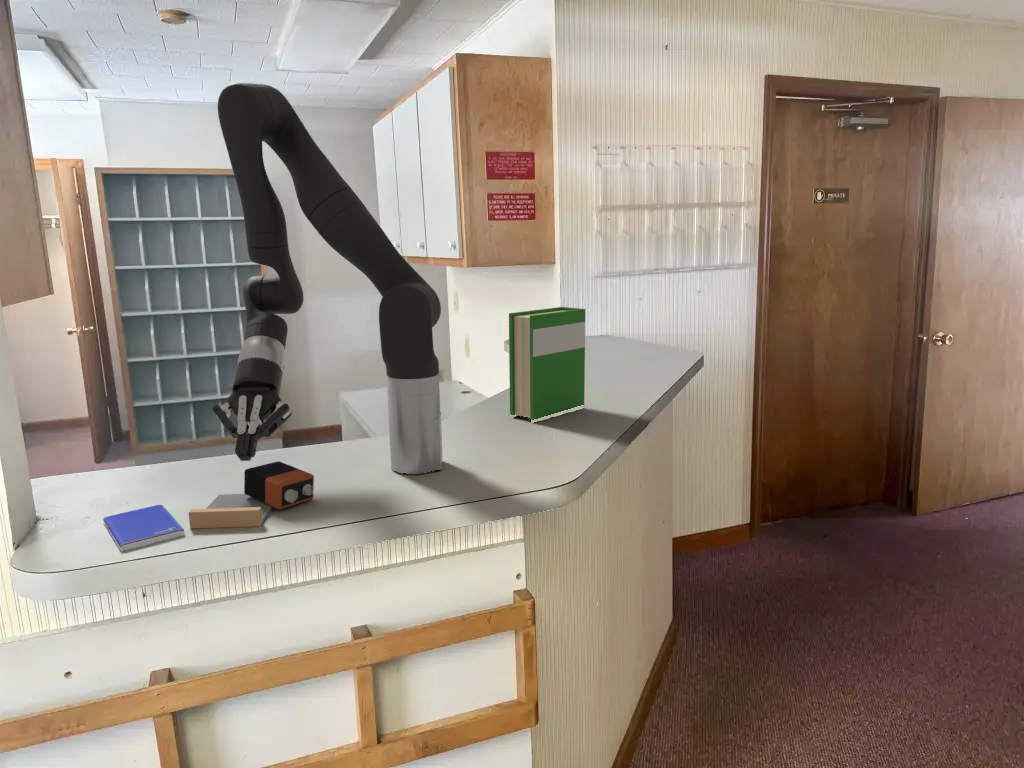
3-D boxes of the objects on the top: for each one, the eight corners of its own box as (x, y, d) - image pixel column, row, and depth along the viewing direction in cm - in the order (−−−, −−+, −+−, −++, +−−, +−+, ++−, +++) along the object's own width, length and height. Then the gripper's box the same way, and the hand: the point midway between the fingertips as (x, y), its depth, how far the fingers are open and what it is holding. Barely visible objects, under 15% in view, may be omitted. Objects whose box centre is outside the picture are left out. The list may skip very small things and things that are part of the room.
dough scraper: (281, 495, 115) (280, 481, 114) (260, 526, 103) (258, 510, 102) (219, 497, 114) (217, 482, 114) (190, 528, 102) (188, 512, 102)
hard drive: (184, 527, 100) (162, 503, 109) (119, 544, 95) (102, 516, 104) (185, 538, 100) (163, 512, 110) (121, 554, 95) (104, 526, 105)
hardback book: (533, 423, 156) (532, 315, 151) (509, 417, 161) (508, 313, 156) (584, 409, 168) (585, 308, 163) (561, 404, 173) (561, 306, 168)
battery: (243, 468, 111) (283, 485, 106) (279, 459, 117) (318, 475, 111) (242, 494, 112) (282, 512, 107) (278, 484, 118) (318, 501, 112)
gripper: (213, 356, 118) (193, 448, 108) (294, 355, 118) (280, 446, 109) (227, 381, 124) (209, 470, 115) (303, 379, 125) (291, 467, 115)
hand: (244, 458), depth 112 cm, fingers closed
